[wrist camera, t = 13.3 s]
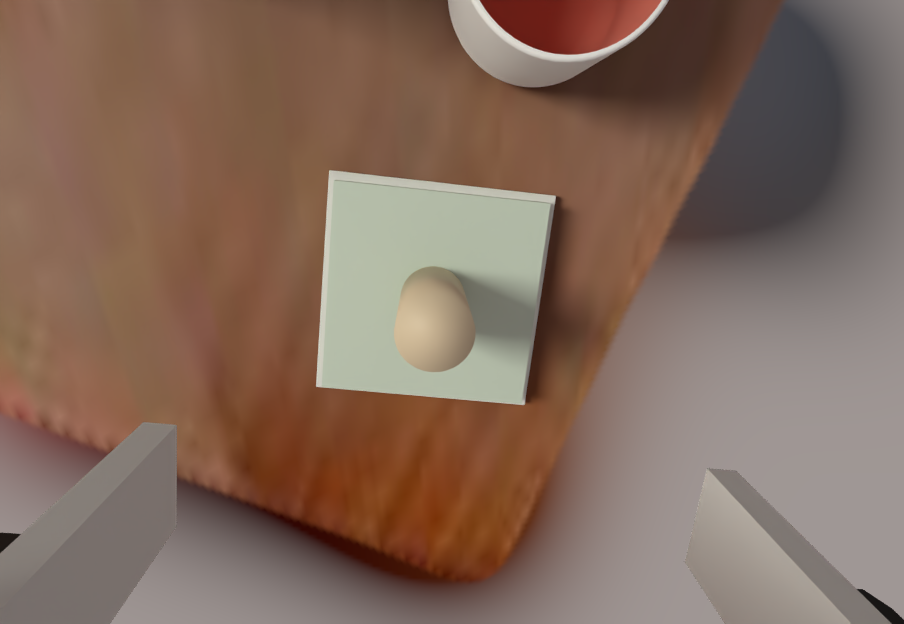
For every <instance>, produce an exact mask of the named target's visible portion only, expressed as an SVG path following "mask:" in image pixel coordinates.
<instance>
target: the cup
mask: <svg viewBox="0 0 904 624" xmlns="http://www.w3.org/2000/svg"><path fill="white" fill-rule="evenodd" d="M668 1H669V0H448V7H449V13H450V17H451V21H452V24H453V27H454V30H455V32H456V34H457V37H458V39H459V41H460V43H461V45H462V46H463V48H464V49H465V51H466V52H467V53H468V55H469V56H470V57H471V58H472V60H473V61H474V62H475V63H476V64H477V65H478V66H479V67H481V68H482V69H483V70H484V71H486V72H487V73H489V74H490V75H492V76H493V77H495V78H497V79H499V80H501V81H503V82H506V83H509V84H512V85H517V86H522V87H545V86H550V85H555V84H558V83H561V82H564V81H566V80H568V79H570V78H573V77H574V76H576V75H578V74H579V73H581V72H583V71H584V70H586V69H588V68H589V67H591V66H593V65H594V64H596V63H598V62H599V61H601V60H603V59H604V58H606V57H608V56H609V55H611V54H613V53H614V52H616V51H618V50H619V49H621V48H623V47H624V46H626V45H628V44H629V43H630V42H632V41H633V40H635V39H636V38H637V37H638V36H640V35H641V34H642V33H643V32H644V31H645V30H646V29H647V28H648V27H649V26H650V25H651V24H652V23H653V22H654V21H655V19H656V18H657V17H658V16H659V14H660V13H661V12H662V10H663V9H664V7H665V6H666V4H667V3H668Z"/></svg>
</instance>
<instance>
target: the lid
mask: <svg viewBox="0 0 904 624" xmlns="http://www.w3.org/2000/svg"><path fill="white" fill-rule="evenodd" d="M550 205H551V204H550V203H547V202H538V201H529V200H519V199H510V198H501V197H491V196H482V195H473V194H464V193H454V192H445V191H436V190H427V189H417V188H408V187H399V186H389V185H380V184H371V183H362V182H352V181H343V180H334V184H333V201H332V219H331V236H330V253H329V270H328V287H327V304H326V321H325V339H324V356H323V373H322V387H326V388H338V389H350V390H362V391H374V392H386V393H398V394H410V395H422V396H434V397H446V398H458V399H470V400H482V401H494V402H506V403H518V404H522V398H523V391H524V384H525V377H526V370H527V363H528V356H529V350H530V343H531V336H532V329H533V322H534V315H535V308H536V301H537V294H538V287H539V281H540V274H541V267H542V260H543V253H544V246H545V239H546V232H547V225H548V218H549V211H550Z"/></svg>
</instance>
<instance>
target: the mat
mask: <svg viewBox="0 0 904 624" xmlns="http://www.w3.org/2000/svg"><path fill="white" fill-rule="evenodd" d="M334 180H343V181H352V182H362V183H371V184H380V185H389V186H399V187H408V188H417V189H427V190H436V191H445V192H454V193H464V194H473V195H482V196H491V197H501V198H510V199H519V200H529V201H538V202H547V203H550V204H551V205H550V211H549V218H548V225H547V232H546V239H545V246H544V253H543V260H542V267H541V274H540V281H539V287H538V294H537V301H536V308H535V315H534V322H533V329H532V336H531V343H530V350H529V356H528V363H527V370H526V377H525V384H524V391H523V398H522V404H519V405H524V404H525V398H526V391H527V384H528V378H529V371H530V365H531V358H532V351H533V345H534V338H535V331H536V325H537V318H538V312H539V305H540V298H541V292H542V285H543V279H544V272H545V265H546V259H547V252H548V245H549V239H550V232H551V226H552V219H553V212H554V206H555V199H556V196H553V195H545V194H536V193H527V192H518V191H509V190H500V189H492V188H483V187H474V186H465V185H456V184H448V183H439V182H430V181H421V180H412V179H403V178H395V177H386V176H377V175H368V174H359V173H351V172H342V171H333V170H329V183H328V200H327V216H326V233H325V249H324V265H323V282H322V298H321V315H320V331H319V347H318V364H317V380H316V387H322V373H323V356H324V339H325V321H326V304H327V287H328V270H329V253H330V236H331V219H332V201H333V184H334ZM325 388H326V387H325ZM337 389H338V388H337ZM348 390H350V389H348ZM360 391H362V390H360ZM371 392H374V391H371ZM382 393H386V392H382ZM394 394H398V393H394ZM405 395H410V394H405ZM417 396H422V395H417ZM428 397H434V396H428ZM439 398H446V397H439ZM451 399H458V398H451ZM462 400H470V399H462ZM474 401H482V400H474ZM485 402H494V401H485ZM496 403H506V402H496ZM508 404H518V403H508Z"/></svg>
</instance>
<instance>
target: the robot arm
mask: <svg viewBox="0 0 904 624" xmlns="http://www.w3.org/2000/svg"><path fill="white" fill-rule="evenodd" d="M176 487H177V425H170V424H158V423H146V422H143V423H142V424H141V425H140V426H139V427H138V428H137V429H136V430H135V431H133V432H132V433H131V434H130V435H129V436H128V437H127V438H126V439H125V440H124V441H122V442H121V443H120V444H119V445H118V446H117V447H116V448H115V449H114V450H113V451H112V452H110V453H109V454H108V455H107V456H106V457H105V458H104V459H103V460H102V461H101V462H100V463H99V464H98V465H97V466H95V467H94V468H93V469H92V470H91V471H90V472H89V473H88V474H86V475H85V476H84V477H83V478H82V479H81V480H80V481H79V482H78V483H77V484H75V485H74V486H73V487H72V488H71V489H70V490H69V491H68V492H67V493H66V494H65V495H64V496H63V497H61V498H60V499H59V500H58V501H57V502H56V503H55V504H54V505H53V506H52V507H50V508H49V509H48V510H47V511H46V512H45V513H44V514H43V515H42V516H41V517H40V518H38V519H37V520H36V521H35V522H34V523H33V524H32V525H31V526H30V527H29V528H27V529H26V530H25V531H24V532H23V533H22V534H13V533H0V624H110V623H111V622H112V620H113V619H114V617H115V616H116V614H117V613H118V611H119V610H120V608H121V607H122V606H123V604H124V603H125V601H126V600H127V598H128V597H129V595H130V594H131V592H132V591H133V589H134V588H135V587H136V585H137V584H138V582H139V581H140V579H141V578H142V576H143V575H144V573H145V572H146V570H147V569H148V567H149V566H150V565H151V563H152V562H153V560H154V559H155V557H156V556H157V555H158V553H159V551H160V550H161V549H162V547H163V546H164V544H165V543H166V541H167V540H168V538H169V537H170V536H171V534H172V533H173V531H174V530H175V528H176V526H177V524H176V523H177V522H176V521H177V520H176V519H177V509H176V508H177V504H176V501H177V496H176V494H177V490H176V489H177V488H176ZM685 563H686V565H687V566H688V568H689V569H690V571H691V572H692V574H693V576H694V577H695V579H696V580H697V582H698V583H699V585H700V586H701V588H702V589H703V591H704V592H705V594H706V595H707V597H708V599H709V600H710V602H711V603H712V604H713V606H714V607H715V609H716V611H717V612H718V614H719V615H720V617H721V618H722V620H723V621H724V623H725V624H904V620H903V619H902V618H901V617H900V616H899V615H898V614H897V613H896V612H895V611H894V610H893V609H892V608H890V607H889V606H887V605H886V604H884V603H883V602H881V601H880V600H878V599H877V598H875V597H874V596H872V595H871V594H869V593H868V592H866V591H865V590H863V589H856V588H855V587H854V586H853V585H852V584H851V583H850V582H849V581H848V580H847V579H846V578H845V577H844V576H843V575H841V573H840V572H839V571H837V570H836V569H835V568H834V567H833V566H832V565H831V564H830V563H829V562H828V561H827V560H826V559H825V558H824V557H823V556H822V555H821V554H820V553H819V552H818V551H817V550H816V549H815V548H814V547H813V546H812V545H811V544H810V543H809V542H808V541H807V540H806V539H805V538H804V537H803V536H802V535H801V534H800V533H799V532H798V531H797V530H796V529H795V528H794V527H793V526H792V525H791V524H790V523H789V522H788V521H787V520H785V518H784V517H783V516H782V515H780V514H779V513H778V512H777V511H776V510H775V509H774V508H773V507H772V506H771V505H770V504H769V503H768V502H767V501H766V500H765V499H764V498H763V497H762V496H761V495H760V494H759V493H758V492H757V491H756V490H755V489H754V488H753V487H752V486H751V485H750V484H749V483H748V482H747V481H746V480H745V479H744V478H743V477H742V476H741V475H740V474H739V473H738V472H737V471H733V470H721V469H708V468H707V471H706V475H705V479H704V483H703V488H702V492H701V496H700V501H699V505H698V509H697V513H696V517H695V521H694V526H693V530H692V534H691V539H690V543H689V547H688V551H687V555H686V559H685Z"/></svg>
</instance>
